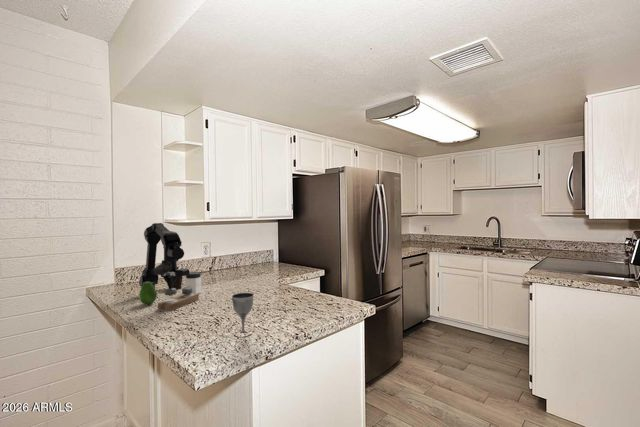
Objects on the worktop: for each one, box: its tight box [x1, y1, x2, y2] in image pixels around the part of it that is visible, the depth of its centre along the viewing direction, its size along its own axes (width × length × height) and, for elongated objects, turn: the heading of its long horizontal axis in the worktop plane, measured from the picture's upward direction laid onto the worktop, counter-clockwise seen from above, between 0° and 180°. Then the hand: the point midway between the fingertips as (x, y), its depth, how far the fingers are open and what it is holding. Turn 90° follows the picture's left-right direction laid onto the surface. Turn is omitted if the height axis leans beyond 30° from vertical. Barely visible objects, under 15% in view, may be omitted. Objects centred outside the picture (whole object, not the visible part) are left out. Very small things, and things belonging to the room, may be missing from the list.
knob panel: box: [157, 293, 199, 312], centre depth 159 cm, size 8×20×3 cm, turn 164°
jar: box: [184, 271, 202, 295], centre depth 181 cm, size 9×8×12 cm
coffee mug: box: [163, 276, 184, 291], centre depth 194 cm, size 12×9×10 cm
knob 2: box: [181, 287, 192, 295], centre depth 165 cm, size 5×5×3 cm
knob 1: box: [164, 287, 177, 297], centre depth 153 cm, size 5×5×3 cm
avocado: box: [139, 281, 158, 306], centre depth 159 cm, size 8×8×12 cm
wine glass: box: [231, 292, 254, 333], centre depth 118 cm, size 8×8×15 cm
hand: (170, 288), depth 153 cm, fingers closed
